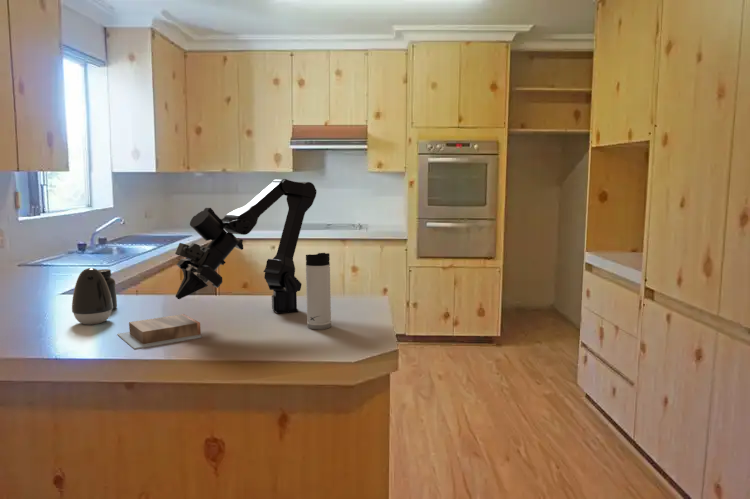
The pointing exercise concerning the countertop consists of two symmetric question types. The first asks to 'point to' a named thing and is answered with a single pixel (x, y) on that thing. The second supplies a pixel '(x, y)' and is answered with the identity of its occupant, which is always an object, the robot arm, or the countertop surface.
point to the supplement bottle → (110, 285)
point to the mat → (137, 344)
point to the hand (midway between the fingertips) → (177, 298)
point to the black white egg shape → (91, 298)
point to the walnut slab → (164, 328)
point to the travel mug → (318, 291)
